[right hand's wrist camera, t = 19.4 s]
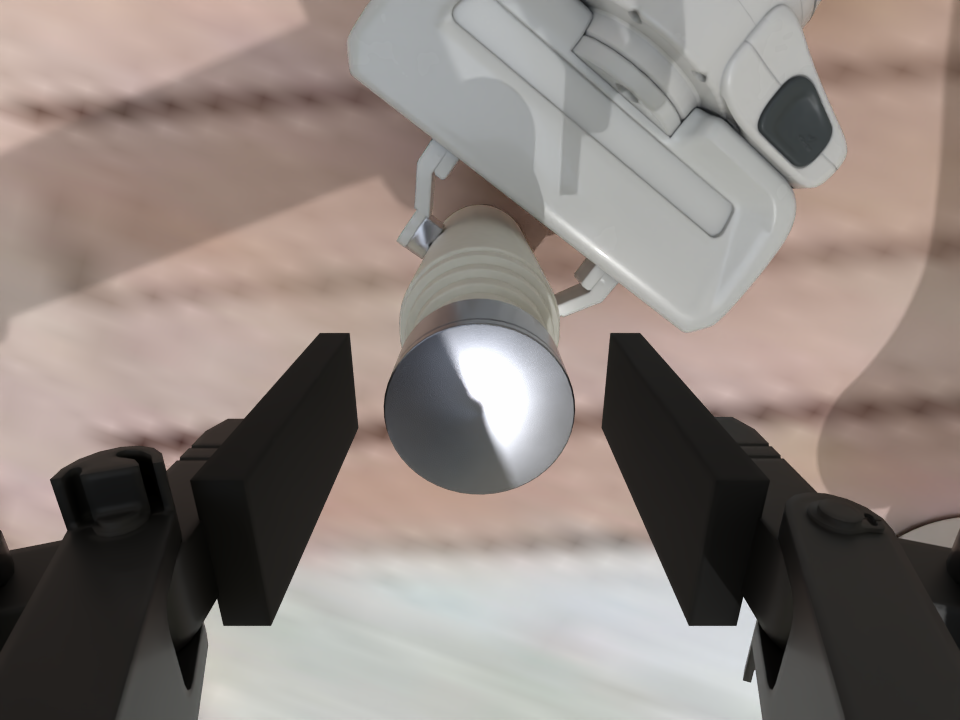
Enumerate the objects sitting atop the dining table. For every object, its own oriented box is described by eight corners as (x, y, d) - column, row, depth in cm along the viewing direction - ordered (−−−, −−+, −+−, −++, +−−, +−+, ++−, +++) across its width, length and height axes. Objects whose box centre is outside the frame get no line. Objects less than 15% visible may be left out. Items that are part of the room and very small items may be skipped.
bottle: (465, 185, 31) (440, 241, 11) (544, 238, 32) (642, 370, 13) (416, 266, 32) (324, 432, 13) (493, 314, 33) (510, 532, 14)
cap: (550, 455, 15) (560, 501, 13) (394, 442, 15) (381, 487, 13) (573, 305, 14) (589, 332, 12) (400, 290, 13) (386, 314, 11)
